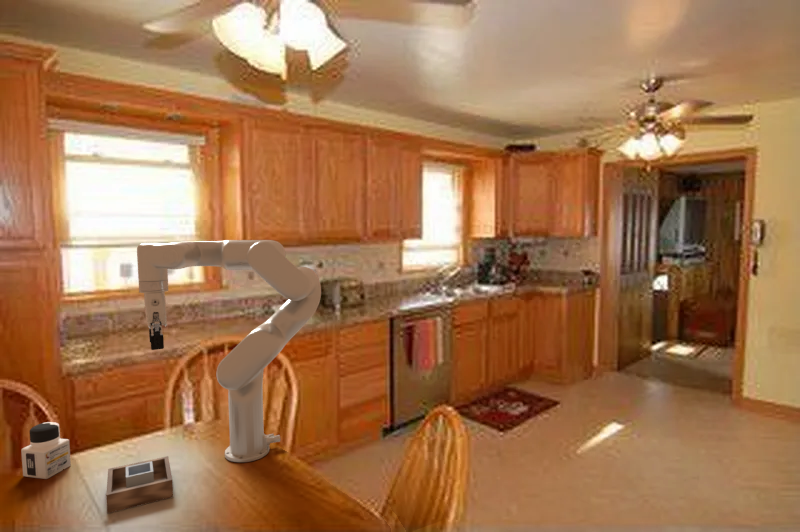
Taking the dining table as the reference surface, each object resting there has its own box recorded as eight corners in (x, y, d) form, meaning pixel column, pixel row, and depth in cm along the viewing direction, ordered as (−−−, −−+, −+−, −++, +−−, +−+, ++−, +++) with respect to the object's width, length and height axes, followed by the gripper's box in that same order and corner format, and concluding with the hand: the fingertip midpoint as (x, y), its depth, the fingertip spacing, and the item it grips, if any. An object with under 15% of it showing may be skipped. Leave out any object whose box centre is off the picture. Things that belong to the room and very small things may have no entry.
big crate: (169, 472, 133) (168, 456, 133) (173, 497, 121) (172, 479, 121) (109, 485, 127) (108, 468, 126) (107, 513, 115) (106, 495, 114)
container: (46, 479, 130) (43, 432, 129) (22, 476, 131) (18, 429, 130) (71, 465, 137) (68, 420, 136) (48, 462, 139) (45, 418, 138)
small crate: (153, 479, 128) (152, 461, 128) (154, 490, 123) (153, 471, 122) (126, 485, 125) (125, 466, 125) (126, 497, 120) (125, 477, 119)
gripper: (170, 289, 134) (173, 350, 136) (166, 282, 149) (168, 337, 151) (139, 291, 131) (142, 354, 132) (138, 283, 146) (141, 340, 147)
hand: (156, 345), depth 141 cm, fingers open, 9 cm apart
